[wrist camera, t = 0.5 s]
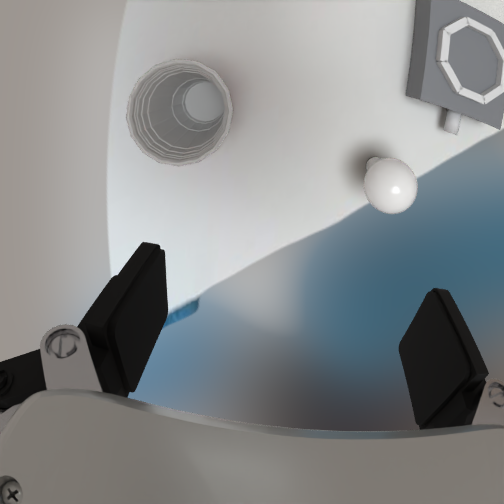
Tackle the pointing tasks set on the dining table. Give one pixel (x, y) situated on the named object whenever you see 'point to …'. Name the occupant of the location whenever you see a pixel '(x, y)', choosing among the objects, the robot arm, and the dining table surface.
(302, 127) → the dining table surface
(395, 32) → the dining table surface
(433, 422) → the robot arm
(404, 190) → the lightbulb
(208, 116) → the plastic cup
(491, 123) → the octagon ring base plate
